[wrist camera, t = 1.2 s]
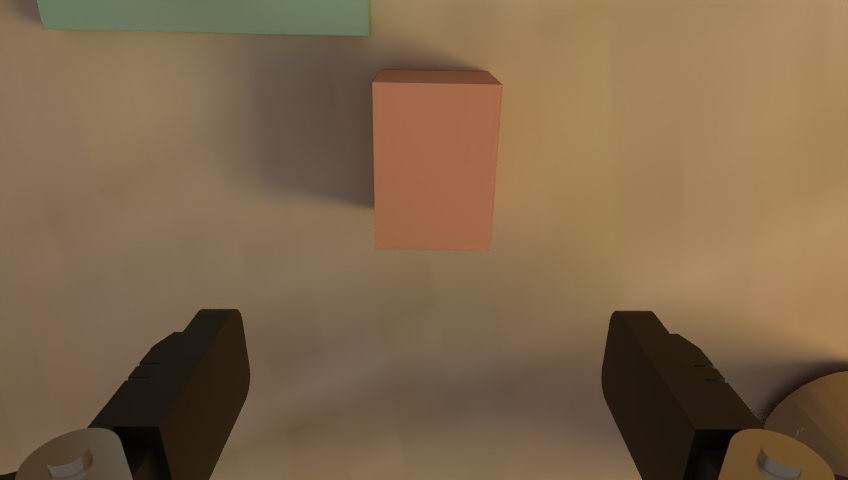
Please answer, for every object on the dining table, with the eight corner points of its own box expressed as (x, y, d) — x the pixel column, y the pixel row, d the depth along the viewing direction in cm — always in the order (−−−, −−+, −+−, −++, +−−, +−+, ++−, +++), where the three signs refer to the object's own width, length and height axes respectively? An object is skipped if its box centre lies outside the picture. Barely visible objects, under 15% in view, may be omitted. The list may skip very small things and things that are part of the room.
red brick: (488, 71, 25) (502, 84, 20) (479, 211, 28) (490, 250, 23) (381, 69, 25) (372, 82, 20) (383, 209, 28) (375, 248, 23)
